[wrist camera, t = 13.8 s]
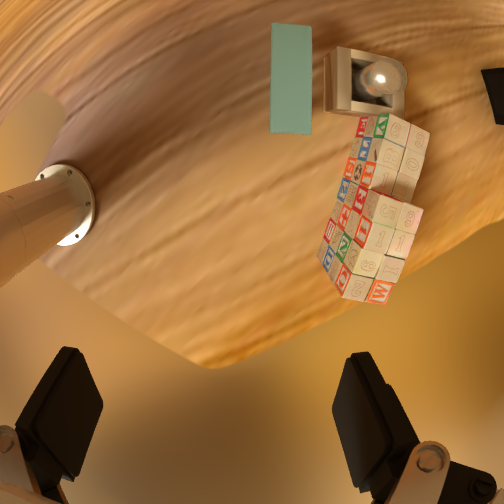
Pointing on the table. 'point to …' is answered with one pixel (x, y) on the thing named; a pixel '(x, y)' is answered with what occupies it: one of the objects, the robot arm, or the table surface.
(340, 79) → the socket
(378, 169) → the stack of blocks
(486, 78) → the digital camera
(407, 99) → the table surface
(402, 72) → the peg
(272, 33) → the teal bridge block
